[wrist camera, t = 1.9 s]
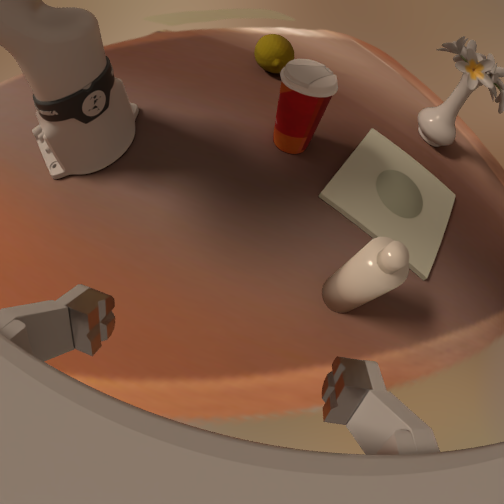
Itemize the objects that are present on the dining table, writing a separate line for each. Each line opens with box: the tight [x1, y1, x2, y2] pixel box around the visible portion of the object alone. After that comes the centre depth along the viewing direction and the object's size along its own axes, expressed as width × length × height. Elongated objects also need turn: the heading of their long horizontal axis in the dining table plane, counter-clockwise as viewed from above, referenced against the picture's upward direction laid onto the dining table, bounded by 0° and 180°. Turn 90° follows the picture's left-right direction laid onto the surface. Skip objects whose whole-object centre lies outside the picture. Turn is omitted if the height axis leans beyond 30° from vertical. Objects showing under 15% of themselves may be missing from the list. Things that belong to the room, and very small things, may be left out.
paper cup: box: [273, 59, 338, 154], centre depth 38 cm, size 8×8×14 cm
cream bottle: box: [322, 237, 410, 313], centre depth 30 cm, size 5×5×14 cm
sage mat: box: [318, 128, 456, 280], centre depth 43 cm, size 20×20×1 cm
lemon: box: [254, 34, 294, 73], centre depth 49 cm, size 11×8×8 cm
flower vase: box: [418, 36, 504, 147], centre depth 40 cm, size 13×18×25 cm
